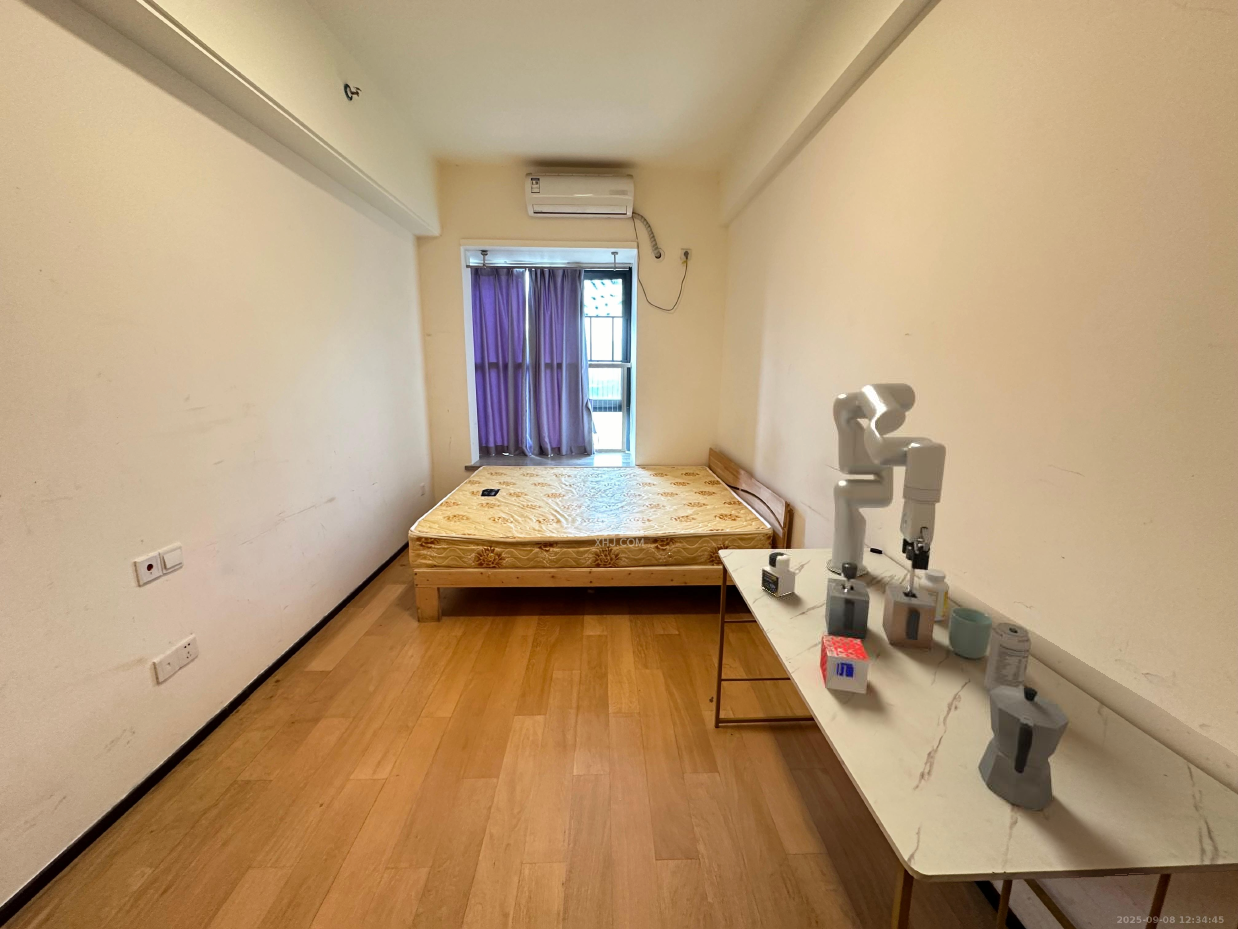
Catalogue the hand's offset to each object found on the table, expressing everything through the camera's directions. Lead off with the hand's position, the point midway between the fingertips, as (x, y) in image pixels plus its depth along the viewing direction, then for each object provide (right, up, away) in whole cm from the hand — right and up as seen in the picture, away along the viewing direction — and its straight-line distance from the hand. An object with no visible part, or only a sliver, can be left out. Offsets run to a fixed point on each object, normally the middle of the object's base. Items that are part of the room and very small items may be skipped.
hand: (914, 561), depth 110 cm
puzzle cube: (-23, -24, -10) cm, 35 cm away
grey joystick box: (-13, -20, +9) cm, 25 cm away
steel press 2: (+1, -20, +4) cm, 21 cm away
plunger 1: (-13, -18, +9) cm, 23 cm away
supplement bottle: (+14, -18, +14) cm, 27 cm away
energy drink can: (+8, -25, -16) cm, 30 cm away
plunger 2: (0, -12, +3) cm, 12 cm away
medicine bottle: (-23, -16, +30) cm, 41 cm away
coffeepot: (-8, -29, -37) cm, 48 cm away
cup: (+11, -22, -2) cm, 24 cm away
